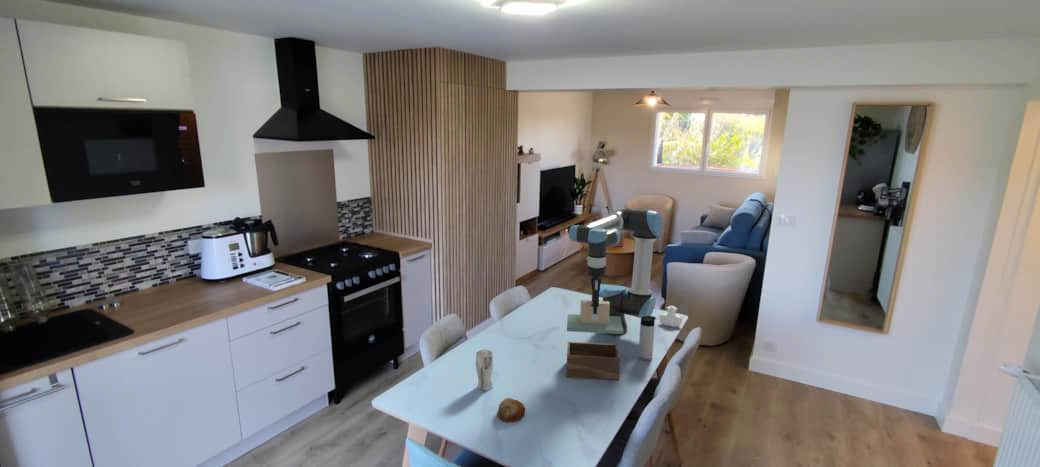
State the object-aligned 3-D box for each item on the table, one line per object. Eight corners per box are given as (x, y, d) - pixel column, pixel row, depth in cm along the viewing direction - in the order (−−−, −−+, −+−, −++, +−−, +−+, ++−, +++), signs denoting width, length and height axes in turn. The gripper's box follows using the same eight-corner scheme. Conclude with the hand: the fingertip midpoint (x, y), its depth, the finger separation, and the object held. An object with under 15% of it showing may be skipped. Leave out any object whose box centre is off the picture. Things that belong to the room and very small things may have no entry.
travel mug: (653, 361, 220) (656, 320, 216) (638, 360, 222) (641, 319, 217) (652, 355, 226) (655, 315, 222) (638, 353, 228) (640, 313, 223)
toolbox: (567, 362, 219) (567, 341, 217) (616, 365, 217) (617, 344, 215) (566, 377, 206) (567, 355, 204) (619, 380, 203) (620, 359, 201)
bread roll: (501, 416, 184) (492, 399, 183) (526, 404, 184) (517, 387, 182) (503, 432, 175) (493, 414, 173) (528, 420, 175) (519, 402, 173)
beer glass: (495, 384, 200) (495, 350, 197) (489, 393, 194) (489, 358, 190) (480, 381, 202) (479, 348, 199) (473, 389, 196) (472, 355, 193)
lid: (567, 317, 216) (568, 294, 213) (620, 319, 213) (621, 297, 211) (566, 331, 201) (567, 307, 199) (623, 334, 198) (624, 309, 196)
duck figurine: (681, 330, 260) (684, 310, 265) (681, 326, 254) (683, 305, 258) (658, 326, 265) (661, 307, 269) (657, 322, 258) (660, 302, 263)
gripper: (587, 260, 209) (585, 311, 215) (587, 271, 194) (585, 325, 199) (604, 260, 209) (602, 311, 214) (606, 271, 193) (604, 326, 198)
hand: (594, 318), depth 206 cm, fingers closed on lid, 3 cm apart
